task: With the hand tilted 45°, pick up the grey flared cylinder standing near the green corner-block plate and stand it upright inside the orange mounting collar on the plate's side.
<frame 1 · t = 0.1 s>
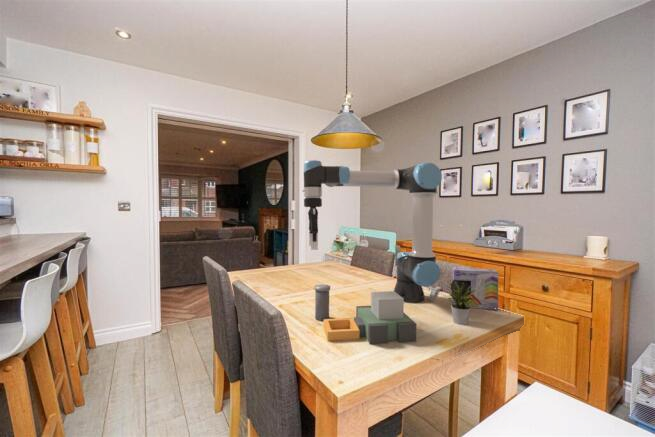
hand: (313, 247, 120), 28 cm above the table, tool pointing down, fingers open, 13 cm apart
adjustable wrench: (431, 295, 148), on the table
cake pan box: (473, 307, 128), on the table
grey flared cylinder: (322, 318, 114), on the table
green corner-block plate: (383, 330, 103), on the table
house plant: (456, 321, 112), on the table
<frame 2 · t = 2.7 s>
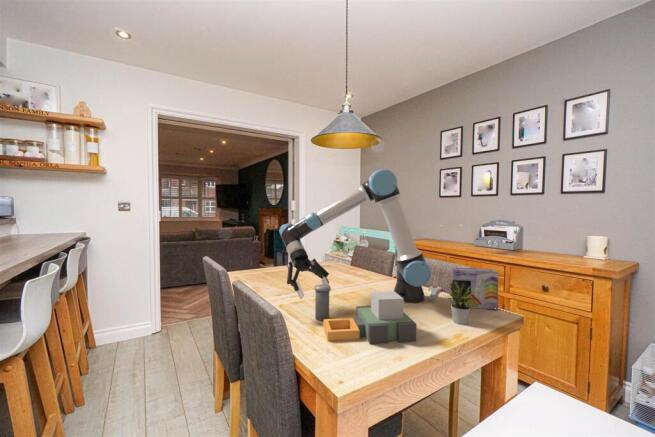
hand: (316, 294, 115), 9 cm above the table, tool tilted 45°, fingers open, 13 cm apart
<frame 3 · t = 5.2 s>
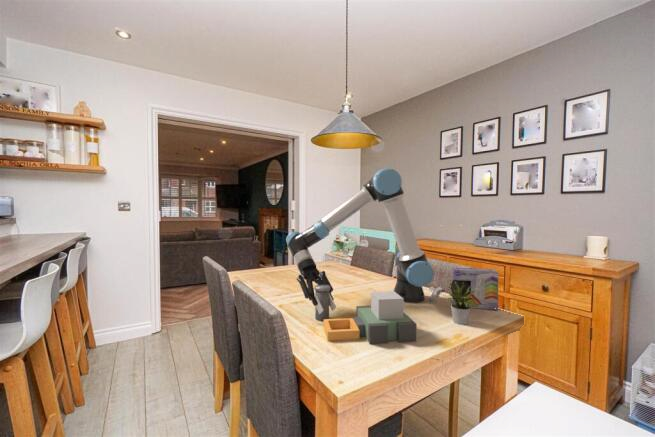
hand: (327, 310, 111), 4 cm above the table, tool tilted 45°, fingers closed on grey flared cylinder, 6 cm apart
grey flared cylinder: (322, 318, 114), on the table, touching gripper
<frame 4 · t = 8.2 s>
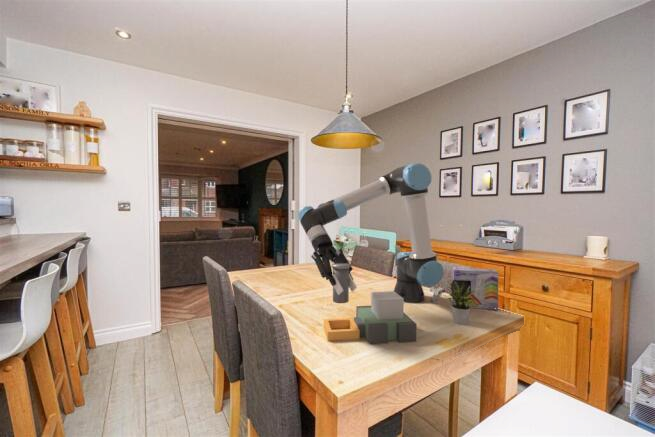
hand: (347, 291, 97), 16 cm above the table, tool tilted 45°, fingers closed on grey flared cylinder, 6 cm apart
grey flared cylinder: (340, 300, 100), point 12 cm above the table, touching gripper
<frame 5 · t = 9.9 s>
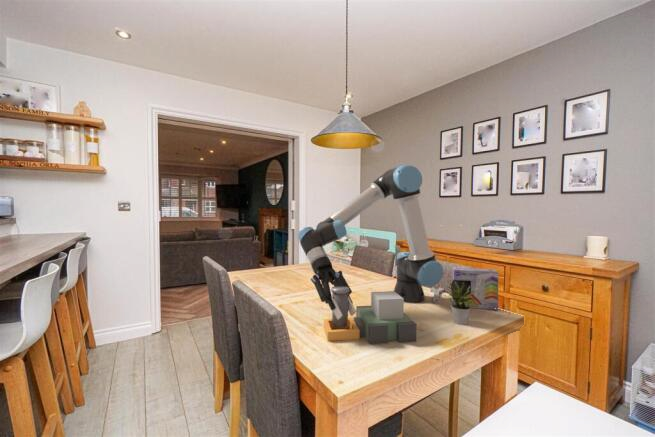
hand: (347, 315, 97), 7 cm above the table, tool tilted 45°, fingers closed on grey flared cylinder, 6 cm apart
grey flared cylinder: (339, 324, 100), point 3 cm above the table, touching gripper
when the fingers open (6 cm above the table, at t = 11.1 s): grey flared cylinder drops 1 cm, resting in green corner-block plate.
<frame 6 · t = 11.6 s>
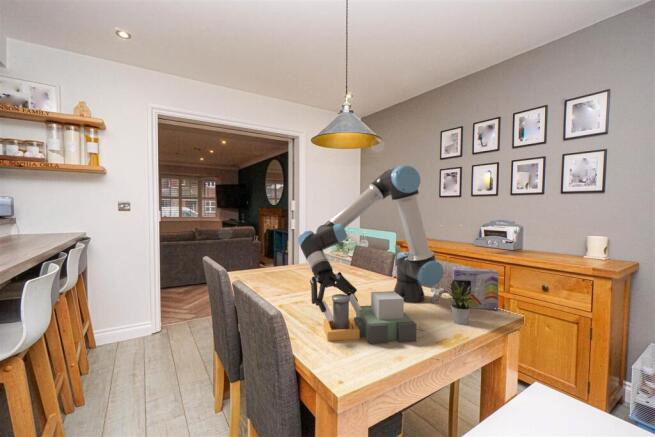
hand: (345, 315, 98), 7 cm above the table, tool tilted 45°, fingers open, 12 cm apart
grey flared cylinder: (340, 332, 101), resting in green corner-block plate
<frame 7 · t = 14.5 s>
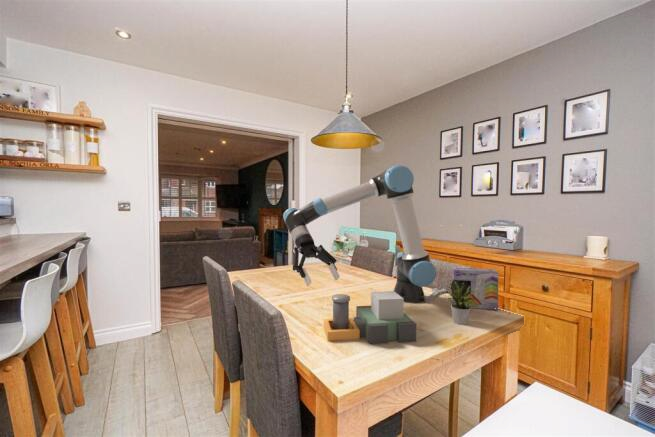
hand: (324, 281, 108), 17 cm above the table, tool tilted 45°, fingers open, 13 cm apart
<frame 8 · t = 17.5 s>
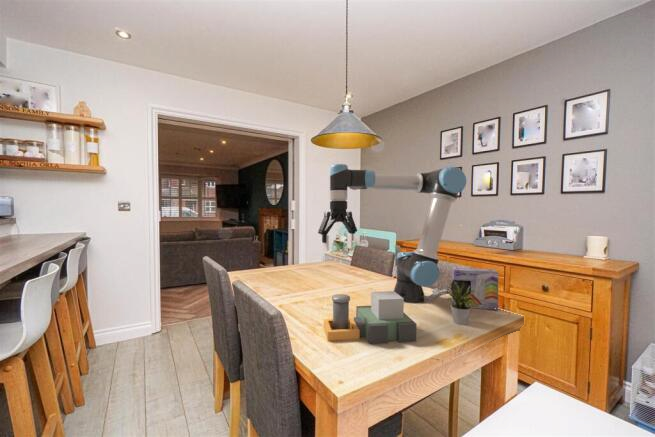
hand: (338, 249, 123), 27 cm above the table, tool pointing down, fingers open, 13 cm apart
at the end: grey flared cylinder 0.1 cm from the target spot on the green corner-block plate, point 0.0 cm above the green corner-block plate's base; grey flared cylinder tilted 0°; the gripper is holding nothing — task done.
